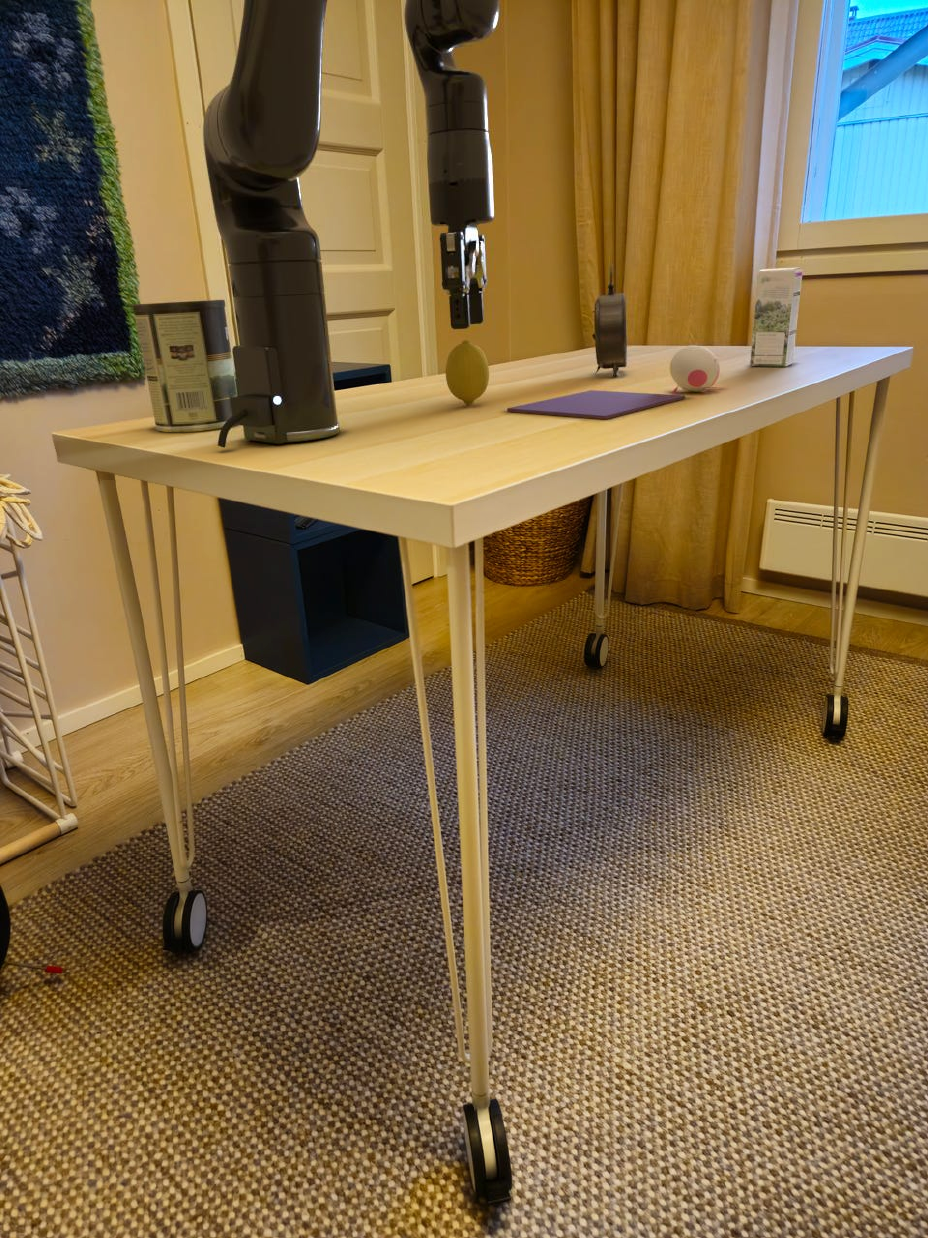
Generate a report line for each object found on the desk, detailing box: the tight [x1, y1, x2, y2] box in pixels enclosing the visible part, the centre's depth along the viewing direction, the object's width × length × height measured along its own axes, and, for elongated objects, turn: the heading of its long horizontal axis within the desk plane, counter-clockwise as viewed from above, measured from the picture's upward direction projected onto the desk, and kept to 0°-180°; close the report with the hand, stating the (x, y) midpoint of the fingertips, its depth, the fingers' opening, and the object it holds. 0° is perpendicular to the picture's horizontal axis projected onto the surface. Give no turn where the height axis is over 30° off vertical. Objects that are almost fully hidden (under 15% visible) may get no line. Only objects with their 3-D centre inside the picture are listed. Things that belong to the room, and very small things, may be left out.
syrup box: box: [749, 266, 803, 367], centre depth 131 cm, size 6×6×14 cm
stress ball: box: [669, 345, 721, 394], centre depth 108 cm, size 8×8×7 cm
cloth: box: [506, 389, 686, 420], centre depth 101 cm, size 18×14×1 cm
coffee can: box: [131, 299, 238, 433], centre depth 98 cm, size 10×10×14 cm
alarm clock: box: [591, 263, 628, 378], centre depth 129 cm, size 11×5×16 cm, turn 168°
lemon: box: [445, 339, 490, 406], centre depth 105 cm, size 6×6×8 cm
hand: (468, 326), depth 102 cm, fingers open, 8 cm apart
